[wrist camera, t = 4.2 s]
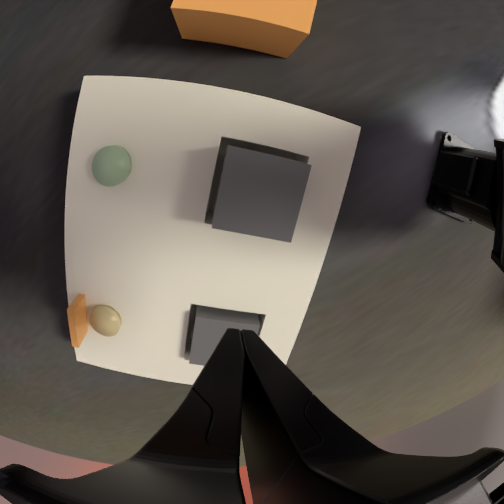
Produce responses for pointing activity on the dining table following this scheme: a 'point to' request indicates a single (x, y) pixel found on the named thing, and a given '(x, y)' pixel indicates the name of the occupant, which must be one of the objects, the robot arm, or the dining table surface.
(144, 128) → the panel
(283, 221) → the block
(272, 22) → the orange square block
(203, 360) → the grey square block
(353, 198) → the dining table surface
